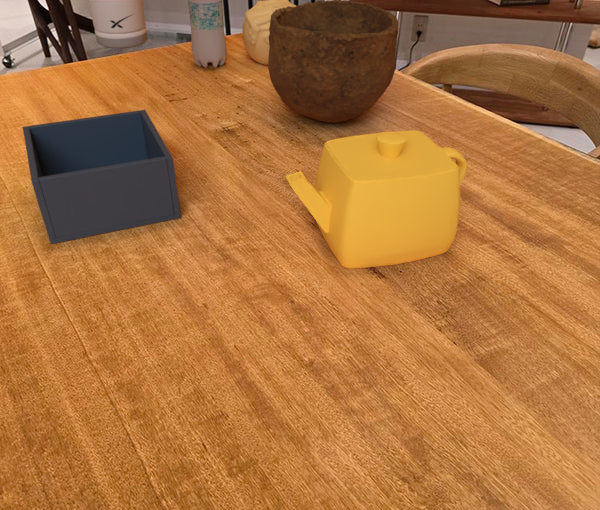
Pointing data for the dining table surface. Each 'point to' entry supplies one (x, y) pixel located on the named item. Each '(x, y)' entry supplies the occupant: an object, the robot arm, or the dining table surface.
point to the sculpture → (260, 28)
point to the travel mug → (119, 23)
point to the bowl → (332, 57)
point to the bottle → (207, 32)
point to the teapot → (384, 197)
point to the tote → (101, 175)
